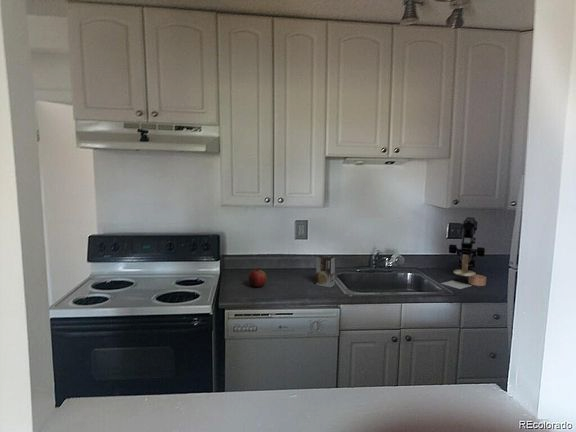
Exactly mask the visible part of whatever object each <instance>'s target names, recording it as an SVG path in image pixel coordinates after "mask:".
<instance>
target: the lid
mask: <svg viewBox="0 0 576 432" xmlns="http://www.w3.org/2000/svg"><path fill="white" fill-rule="evenodd" d="M468 260H469V255H466V254H463V260H462V270H461V269H460V268H459V269H454V270H453V274H455V275H457V276H461V277H465V276H475V275H477V273H476V272H475V271H469V270H468Z"/></svg>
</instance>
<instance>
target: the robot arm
mask: <svg viewBox="0 0 576 432" xmlns="http://www.w3.org/2000/svg"><path fill="white" fill-rule="evenodd" d="M461 230H462V238H461V239H462V240H461V246H457V244H453V243H452V244H449V245H448V254H456V255H457V256H458V266H459V269H461V270H462V260H463V254H466V255H469V260H468V270H469V271H473V270H474V269H473V268H475V266H476V259H475V258H476V257H484V258H485V253H486V249H485V247H482V246H481V247H480V246H477V247H476V248H473V244H474V245H475V244H476V239H477V237H474V235H475V234H476V231H477V230H478V221H477V220H476V218H475V217H470V216H467V217H466V218H465V220H464V221H463V223H462V224H461ZM473 272H474V271H473ZM464 277H465V278H469V276H464Z"/></svg>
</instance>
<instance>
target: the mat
mask: <svg viewBox="0 0 576 432" xmlns="http://www.w3.org/2000/svg"><path fill="white" fill-rule="evenodd" d="M440 284H441V285H445V286H447V287H452V288H455V289H459V290H462V289H465V288H469V287H472V284H469V283H464V282H460V281H456V280H449V281H444V282H441V283H440Z"/></svg>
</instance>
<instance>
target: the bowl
mask: <svg viewBox="0 0 576 432" xmlns="http://www.w3.org/2000/svg"><path fill="white" fill-rule="evenodd" d="M467 284H469V285H471V286H477V287H484V286H486V284H487V277H486V276H485V275H481V274H476V275H475V276H469V277H468V283H467Z"/></svg>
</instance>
